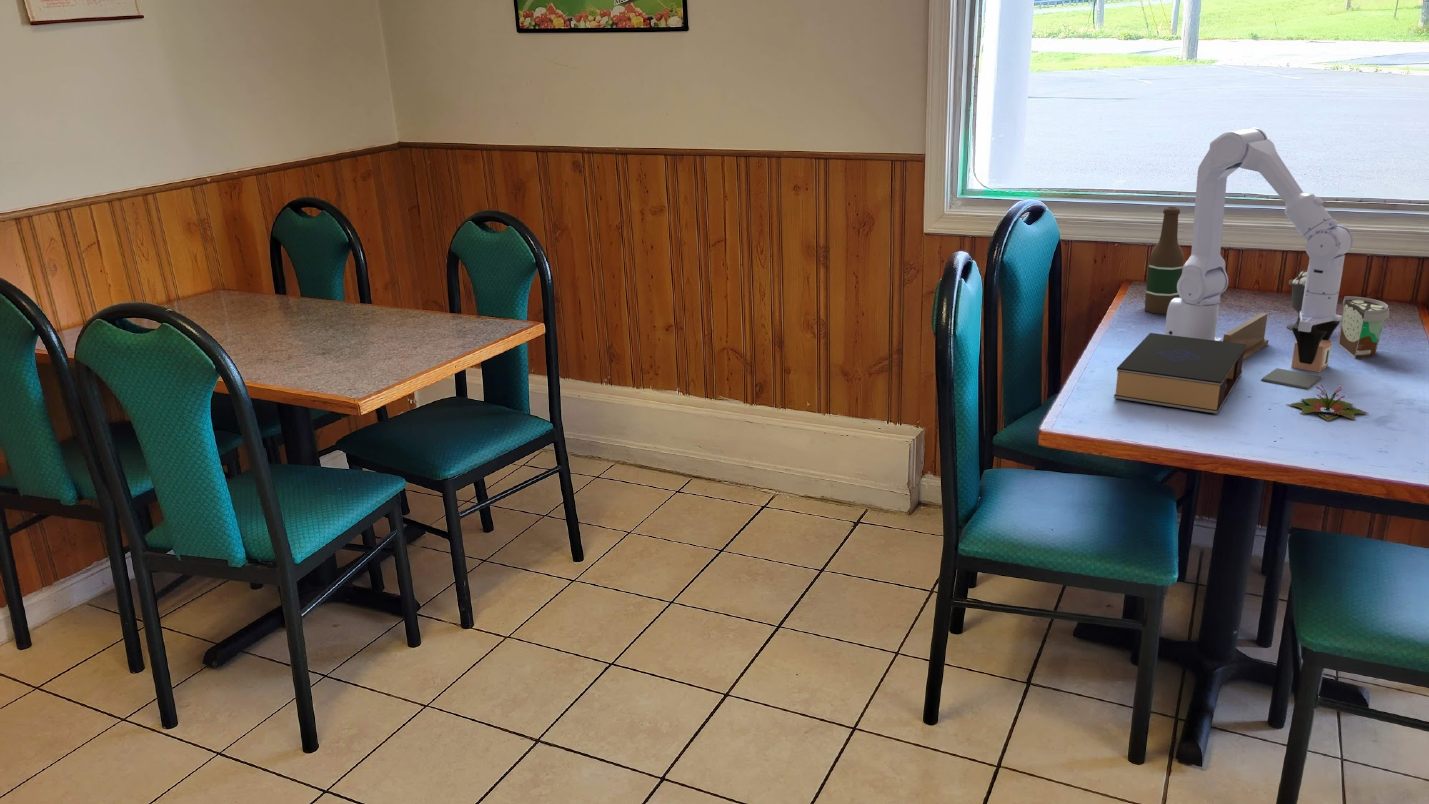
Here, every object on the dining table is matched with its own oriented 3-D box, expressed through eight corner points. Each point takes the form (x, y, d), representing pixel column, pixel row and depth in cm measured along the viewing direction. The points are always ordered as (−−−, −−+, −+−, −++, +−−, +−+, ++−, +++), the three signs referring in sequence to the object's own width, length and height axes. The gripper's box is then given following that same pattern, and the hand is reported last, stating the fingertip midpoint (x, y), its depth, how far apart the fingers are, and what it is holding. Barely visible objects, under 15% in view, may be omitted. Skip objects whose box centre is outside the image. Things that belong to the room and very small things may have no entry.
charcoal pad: (1261, 380, 196) (1261, 378, 196) (1276, 370, 202) (1276, 368, 202) (1307, 389, 191) (1307, 387, 191) (1321, 378, 196) (1322, 376, 196)
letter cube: (1291, 367, 203) (1294, 342, 201) (1300, 360, 206) (1303, 336, 204) (1321, 372, 199) (1325, 347, 198) (1329, 366, 203) (1334, 341, 201)
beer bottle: (1184, 314, 240) (1196, 209, 232) (1150, 315, 241) (1161, 211, 233) (1171, 305, 248) (1182, 204, 240) (1138, 306, 248) (1148, 205, 240)
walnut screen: (1215, 365, 206) (1219, 333, 204) (1252, 341, 219) (1256, 311, 217) (1230, 368, 204) (1235, 336, 202) (1267, 344, 217) (1272, 314, 215)
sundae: (1309, 334, 222) (1321, 264, 217) (1277, 328, 227) (1287, 260, 222) (1322, 327, 226) (1333, 259, 221) (1289, 322, 231) (1299, 255, 226)
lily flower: (1327, 429, 174) (1331, 403, 173) (1271, 406, 185) (1275, 381, 184) (1384, 419, 177) (1388, 393, 176) (1326, 396, 188) (1330, 372, 187)
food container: (1392, 361, 204) (1401, 311, 200) (1357, 360, 205) (1366, 311, 201) (1368, 343, 215) (1377, 295, 212) (1335, 342, 216) (1343, 295, 213)
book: (1241, 377, 200) (1246, 343, 198) (1216, 418, 181) (1221, 382, 178) (1146, 364, 209) (1150, 332, 207) (1113, 402, 190) (1116, 367, 188)
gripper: (1332, 302, 190) (1321, 372, 195) (1357, 286, 200) (1345, 354, 204) (1290, 296, 195) (1280, 365, 200) (1316, 281, 205) (1306, 347, 209)
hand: (1310, 359), depth 202 cm, fingers closed on letter cube, 5 cm apart
